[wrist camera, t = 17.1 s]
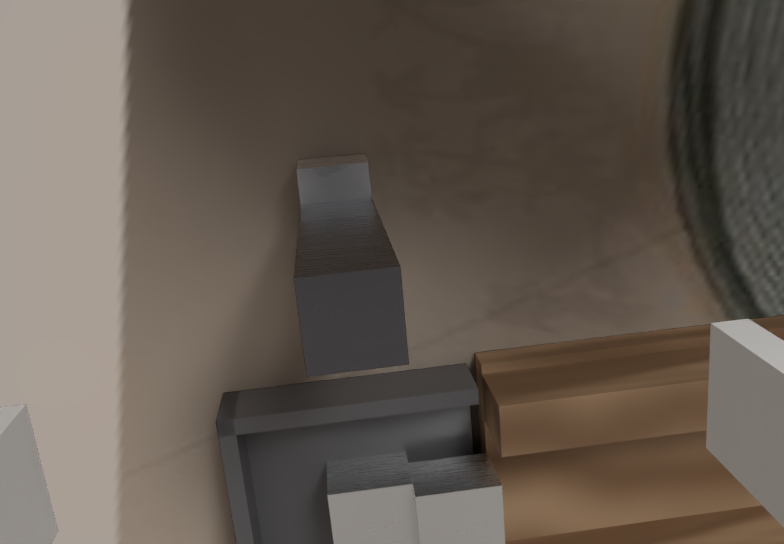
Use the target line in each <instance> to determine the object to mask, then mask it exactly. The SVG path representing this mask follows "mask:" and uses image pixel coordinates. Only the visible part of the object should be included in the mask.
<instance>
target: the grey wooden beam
mask: <svg viewBox="0 0 784 544" xmlns="http://www.w3.org/2000/svg"><path fill="white" fill-rule="evenodd" d="M296 172H297V180H298V188H299V196H300V204H301V206H300V217H299V228H298V239H297V250H296V261H295V272H294V283H295V290H296V298H297V306H298V313H299V321H300V329H301V336H302V344H303V352H304V359H305V367H306V375H307V377H309V376H317V375H325V374H334V373H342V372H350V371H358V370H366V369H374V368H383V367H391V366H399V365H407V364H409V359H408V348H407V336H406V325H405V314H404V302H403V291H402V280H401V269H400V264H399V262H398V260H397V257H396V255H395V252H394V250H393V248H392V245H391V243H390V240H389V238H388V236H387V233H386V231H385V228H384V226H383V224H382V221H381V219H380V216H379V214H378V212H377V209H376V207H375V204H374V202H373V200H372V196H371V186H370V176H369V165H368V161H367V159H366V157H365V155H364V153H363V154H353V155H344V156H334V157H324V158H314V159H304V160H298V161H297V167H296Z"/></svg>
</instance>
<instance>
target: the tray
mask: <svg viewBox="0 0 784 544" xmlns="http://www.w3.org/2000/svg"><path fill="white" fill-rule="evenodd" d="M478 404H479V393H478V387H477V385H476V383H475V381H474V379H473V377H472V375H471V373H470V371H469V369H468V367H467V365H466V363H464V364H456V365H448V366H439V367H431V368H423V369H415V370H407V371H399V372H391V373H382V374H374V375H366V376H358V377H350V378H342V379H333V380H325V381H317V382H309V383H301V384H293V385H284V386H276V387H268V388H260V389H252V390H244V391H236V392H227V393H223V396H222V400H221V403H220V407H219V411H218V414H217V418H216V427H217V432H218V438H219V444H220V450H221V456H222V462H223V468H224V473H225V479H226V485H227V491H228V497H229V503H230V509H231V514H232V520H233V526H234V532H235V538H236V544H334V542H333V535H332V527H331V519H330V512H329V504H328V496H327V462H330V461H338V460H346V459H353V458H361V457H369V456H376V455H384V454H392V453H400V452H406V455H407V460H408V463H412V462H420V461H427V460H435V459H443V458H450V457H458V456H466V455H473V443H472V427H471V412H470V405H478Z"/></svg>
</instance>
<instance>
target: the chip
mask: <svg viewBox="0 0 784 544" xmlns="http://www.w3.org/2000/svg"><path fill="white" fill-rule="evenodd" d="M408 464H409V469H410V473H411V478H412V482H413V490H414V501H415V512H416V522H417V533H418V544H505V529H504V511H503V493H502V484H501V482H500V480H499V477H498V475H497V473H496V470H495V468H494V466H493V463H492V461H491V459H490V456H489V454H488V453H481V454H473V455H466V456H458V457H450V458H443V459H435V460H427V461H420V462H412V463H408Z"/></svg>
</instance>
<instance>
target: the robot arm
mask: <svg viewBox="0 0 784 544" xmlns="http://www.w3.org/2000/svg"><path fill="white" fill-rule="evenodd" d="M706 448H707V449H708V450H709V451H710V452H711V453H712V454H713V455H714V456H715V457H716V458H717V459H718V460H719V461H720V463H721V464H722V465H723V466H724V467H725V468H726V469H727V470H728V471H729V472H730V473H731V474H732V475H733V476H734V477H735V478H736V479H737V480H738V481H739V482H740V483H741V484H742V485H743V486H744V487H745V488H746V489H747V490H748V491H749V492H750V493H751V494H752V495H753V496H754V497H755V498H756V499H757V501H758V502H759V503H760V504H761V505H762V506H763V507H764V508H765V509H766V510H767V511H768V512H769V513H770V514H771V515H772V516H773V517H774V518H775V519H776V520H777V521H778V522H779V523H780V524H781V525H782V526H783V527H784V341H783V340H782V339H780V338H778V337H777V336H775V335H774V334H772V333H770V332H769V331H767V330H766V329H764V328H762V327H761V326H759V325H758V324H756V323H754V322H753V321H751V320H750V319H741V320H733V321H724V322H716V323H711V330H710V356H709V383H708V409H707V435H706ZM57 533H58V528H57V524H56V521H55V517H54V512H53V509H52V505H51V501H50V497H49V493H48V489H47V485H46V481H45V477H44V473H43V469H42V465H41V461H40V457H39V453H38V449H37V445H36V441H35V437H34V433H33V429H32V425H31V422H30V418H29V413H28V410H27V406H26V404H22V405H14V406H5V407H0V544H52V542H53V540H54V538H55V536H56V534H57Z"/></svg>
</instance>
